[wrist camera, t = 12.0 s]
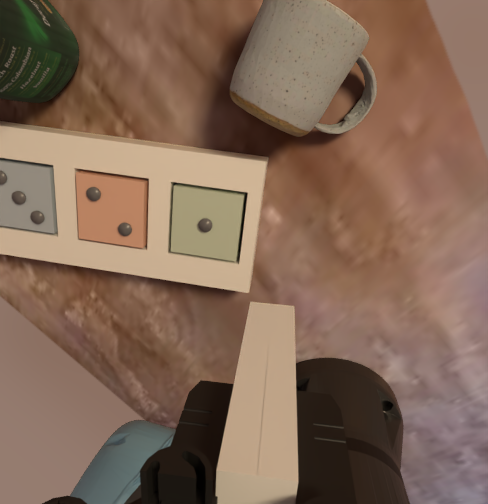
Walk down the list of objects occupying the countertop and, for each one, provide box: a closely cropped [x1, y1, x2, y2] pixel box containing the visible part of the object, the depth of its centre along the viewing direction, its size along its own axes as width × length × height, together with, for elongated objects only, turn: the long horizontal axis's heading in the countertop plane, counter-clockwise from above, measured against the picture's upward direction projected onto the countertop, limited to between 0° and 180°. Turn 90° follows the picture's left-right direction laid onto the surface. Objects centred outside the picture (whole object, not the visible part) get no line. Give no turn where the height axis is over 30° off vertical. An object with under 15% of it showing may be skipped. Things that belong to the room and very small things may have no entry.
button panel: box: [0, 121, 269, 293], centre depth 35 cm, size 12×26×3 cm, turn 83°
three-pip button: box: [0, 158, 58, 234], centre depth 36 cm, size 6×6×3 cm
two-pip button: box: [76, 170, 149, 248], centre depth 35 cm, size 6×6×3 cm
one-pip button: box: [171, 183, 247, 261], centre depth 35 cm, size 6×6×3 cm
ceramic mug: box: [230, 0, 377, 137], centre depth 28 cm, size 11×8×8 cm
